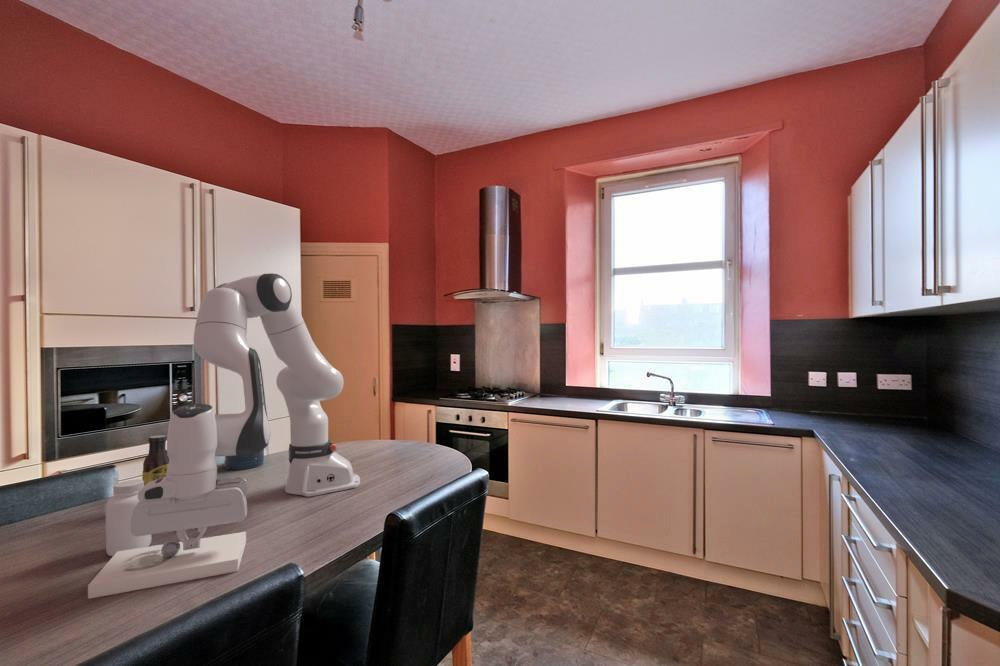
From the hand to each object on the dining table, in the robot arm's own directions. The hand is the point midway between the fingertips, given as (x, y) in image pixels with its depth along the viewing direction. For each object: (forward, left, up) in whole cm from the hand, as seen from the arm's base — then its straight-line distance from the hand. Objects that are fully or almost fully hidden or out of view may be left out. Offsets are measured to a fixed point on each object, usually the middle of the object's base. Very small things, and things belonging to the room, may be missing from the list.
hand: (192, 548), depth 95 cm
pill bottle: (+15, -14, -4) cm, 21 cm away
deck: (+3, 0, -4) cm, 4 cm away
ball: (+4, 0, +1) cm, 4 cm away
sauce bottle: (+17, -42, -4) cm, 46 cm away
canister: (-1, -78, -4) cm, 78 cm away
